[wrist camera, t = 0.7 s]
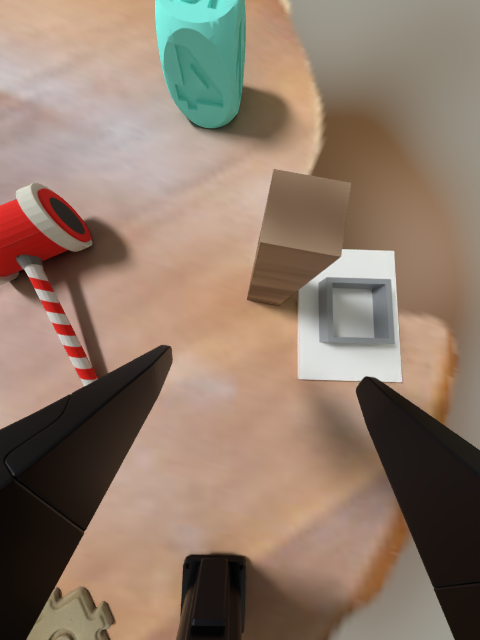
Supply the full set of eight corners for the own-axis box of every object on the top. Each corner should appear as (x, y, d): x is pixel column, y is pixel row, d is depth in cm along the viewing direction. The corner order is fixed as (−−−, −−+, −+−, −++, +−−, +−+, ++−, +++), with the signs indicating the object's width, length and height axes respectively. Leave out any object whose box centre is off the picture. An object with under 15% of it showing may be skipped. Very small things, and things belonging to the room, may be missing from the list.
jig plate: (398, 380, 20) (420, 387, 18) (297, 378, 20) (306, 384, 18) (390, 252, 22) (409, 242, 20) (297, 249, 22) (304, 238, 19)
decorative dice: (233, 134, 24) (231, 31, 16) (177, 124, 24) (145, 16, 16) (244, 85, 24) (247, -36, 16) (189, 75, 24) (166, -51, 17)
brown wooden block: (278, 305, 21) (341, 256, 8) (247, 299, 21) (260, 242, 8) (283, 274, 22) (351, 182, 9) (252, 269, 22) (273, 169, 9)
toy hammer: (152, 372, 21) (114, 388, 14) (59, 417, 20) (-23, 454, 14) (84, 213, 23) (24, 164, 16) (-3, 249, 22) (-101, 214, 16)
